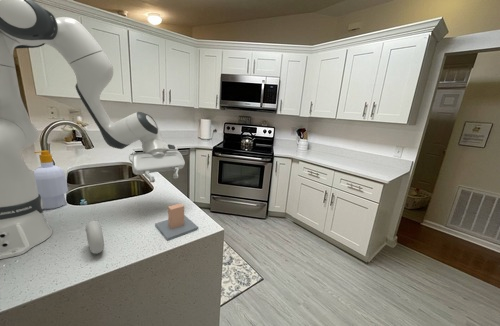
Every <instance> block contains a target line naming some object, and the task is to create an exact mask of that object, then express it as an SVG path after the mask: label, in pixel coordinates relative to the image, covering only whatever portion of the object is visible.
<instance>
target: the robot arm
mask: <svg viewBox="0 0 500 326" xmlns="http://www.w3.org/2000/svg"><path fill="white" fill-rule="evenodd" d="M45 45H48V46H50V47H52V48H53V49H55V50H56V52H58V53H59V54H60V55H61V56H62V57H63V59H64V60H65V61H66V63H67V64H68V65H69V67H71V69H72V70H73V72H74V76H75V78H76V84H75V90H76V92H77V94H78V96H79V98H80V100H81V101H82V103H83V105H84V106H85V108H86V111H88V113H89V115H90V116H91V118H92V119H93V121H94V123H95V124H96V127H98V129H99V131H100V133H101V136H102V138H103V139H104V141H105V143H106V144H107V145H108V146H109V147H111V148H113V149H117V150H118V149H119V150H123V149H125V148H126V147H128V146H130V145H132V144H133V143H136V142H138V141H140V143H141V147H142V151H139V152H138V151H137V152H136V151H135V152H134V151H133V152H132V153H130V154H128V160H129V162H130V163H131V168H132V170H131V171H132V173H133V174H134V175H137V176H139V175H144V177H146V178H147V179H148V180H149V183H155V181H156V179H155V176H154V175H151V173H161V172H167V171H168V172H169V171H173V172H174V173H173V174H172V178H173V179H178V178H179V174H178V173H179V170H181V169H183V168H184V167H185V165H186V162H185V158H184V157H183V155H182V153H181V152H180V151H179V150H178V149H179V148H178V146H177V145H175V144H171V143H167V142H164V140H163V137H162V133H161V130H160V128H159V126H158V124H157V123H156V122H157V121H155V119H154V118H153V117H152V116H151V115H150V114H148V113H144V112H143V111H137V112H134V113H132V114H130V115H127V116H126V117H124V118H121V119H119V120H117V121H115V122H114V121H112V120H111V118H110V116H109V115H108V113H107V111H106V109H105V107H104V106H103V105H102V102H101V98H100V97H101V94H102V92H103V91H104V89H105V88H106V87H107V86H108V85H109V83H110V82H111V81H112V78H113V77H114V66H113V64H112V62H111V60H110V58H109V57H108V55H107V54H106V52H105V51H104V50H103V48H102V47H101V45H100V44H99V43H98V41H97V39H96V38H94V36H93V35H92V34H91V32H89V31H88V29H87V28H86V27H85V26H84V25H83V24H82V23H81V22H80V21H78V20H77V19H75V18H72V17H69V16H61V17H60V16H59V17H56V18H55V15H54V14H53V13H52V12H50V11H49V10H47V9H46V8H44V7H43V6H41V5H40V4H38V3H37V2H35V1H34V0H0V260H2V259H7V258H12V257H16V256H17V257H18V256H21V255H23V254H25V253H27V252H28V251H29V250H31V249H32V248H33V247H36V246H38V245H40V244H41V243H43V242H44V241H45V242H46V240H48V239H49V238H50V237H51V236H52V234H53V230H52V228H51V226H50V225H49V223H48V221H47V219H46V217H45V215H44V208H43V203H42V198H41V196H40V194H38V190H37V185H36V179H35V174H34V172H33V171H34V170H32V169H30V168H29V167H28V165H27V163H26V162H25V160H24V158H23V156H22V152H23V151H25V150H27V149H30V147H33V145H34V144H35V143H36V141H37V140H38V139H39V131H38V129H37V127H36V126H35V125H34V124H33V123H32V121H31V118H30V115H29V114H28V111H27V109H26V107H25V104H24V102H23V99H22V96H21V93H20V86H19V81H18V76H17V71H16V65H15V59H14V58H15V57H14V51H15V49H34V48H40V47H44V46H45Z"/></svg>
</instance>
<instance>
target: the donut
mask: <svg viewBox="0 0 500 326" xmlns="http://www.w3.org/2000/svg"><path fill="white" fill-rule="evenodd" d="M85 234H86V239H87V244H88V248H89V251H90V252H91V253H92V254H94V255H97V254H100V253H102V252H103V250H104V248H105V239H104V234H103V230H102V227H101V225H100V222H99V221H97V220H91V221H89V222H88V223H86V225H85Z"/></svg>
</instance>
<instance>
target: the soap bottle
mask: <svg viewBox="0 0 500 326" xmlns="http://www.w3.org/2000/svg"><path fill="white" fill-rule="evenodd" d="M33 154H39V161H40V167H37V168H36V169H34V170H32V171H33V172H34V174H35V179H36V185H37V190H38V194H40V196H41V198H42V203H43V209H46V210H49V209H58V208H60V207H63V206H64V205H65V204H66V203H67V202H66V196H65V194H67V193H68V192H69V188H68V183H67V176H66V172H65V170H64V169H63V168H62V167H60V166H57V165H54V160H53V155H52V154H51V153H50V150H48V149H47V150H41V151H40V150H39V151H38V150H37V151H33ZM62 205H63V206H62Z"/></svg>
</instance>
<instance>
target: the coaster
mask: <svg viewBox="0 0 500 326" xmlns="http://www.w3.org/2000/svg"><path fill="white" fill-rule="evenodd" d="M154 226H155V228H156V229H157V230H158V232H160V234H161V235H162V236H163V238H164V239H165V240H166V241H167V242H168V241H171V240H174V239H176V238H179V237H182V236H184V235H187V234H191V233H192V232H196V231H198V230H199V226H197V224H196V223H194V222H193V221H192V220H191V219H190V218H189V217H187V216H186V215H185V214H184V225H183V226H180V227H177V228H174V229H171V228H170V227H169V226H168V219H166V220H163V221H159V222H156V223H154ZM197 229H198V230H197Z"/></svg>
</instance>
